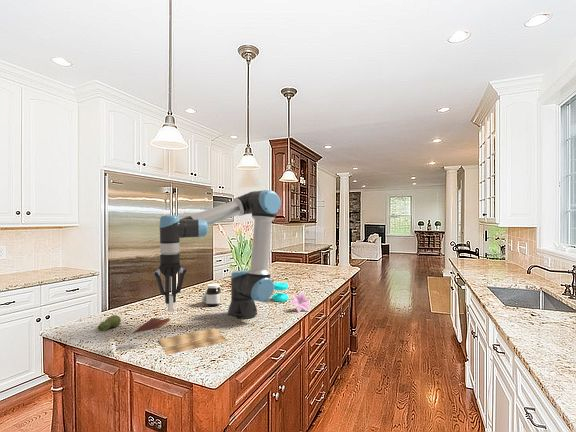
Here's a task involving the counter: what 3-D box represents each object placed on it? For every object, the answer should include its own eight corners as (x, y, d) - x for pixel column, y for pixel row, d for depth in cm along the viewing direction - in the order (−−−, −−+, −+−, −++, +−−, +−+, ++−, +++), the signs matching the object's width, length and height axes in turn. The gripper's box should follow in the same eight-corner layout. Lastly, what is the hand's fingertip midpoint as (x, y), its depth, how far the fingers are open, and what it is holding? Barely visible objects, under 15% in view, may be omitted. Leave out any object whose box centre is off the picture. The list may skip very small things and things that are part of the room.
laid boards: (222, 338, 138) (222, 335, 138) (228, 343, 132) (228, 340, 132) (162, 351, 125) (162, 347, 125) (167, 357, 119) (167, 354, 119)
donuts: (286, 281, 205) (290, 285, 195) (286, 297, 205) (290, 301, 195) (270, 282, 202) (273, 285, 193) (270, 298, 203) (273, 302, 193)
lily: (286, 314, 174) (291, 300, 171) (287, 300, 185) (292, 287, 181) (307, 320, 175) (313, 307, 171) (307, 306, 186) (313, 293, 182)
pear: (122, 314, 152) (102, 324, 143) (124, 324, 153) (104, 335, 144) (114, 312, 154) (94, 322, 146) (116, 322, 155) (96, 333, 146)
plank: (162, 350, 125) (162, 347, 125) (158, 342, 132) (158, 339, 132) (221, 337, 138) (221, 334, 138) (214, 330, 145) (214, 327, 145)
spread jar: (218, 307, 183) (218, 286, 183) (198, 307, 183) (198, 286, 183) (222, 301, 195) (222, 282, 195) (204, 301, 195) (204, 282, 195)
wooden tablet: (151, 320, 162) (151, 317, 162) (171, 320, 162) (171, 317, 162) (121, 341, 136) (121, 337, 136) (144, 341, 135) (144, 337, 135)
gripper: (183, 251, 138) (184, 306, 138) (151, 253, 131) (151, 311, 131) (188, 253, 132) (189, 310, 132) (154, 255, 125) (155, 316, 125)
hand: (170, 311), depth 132 cm, fingers closed
